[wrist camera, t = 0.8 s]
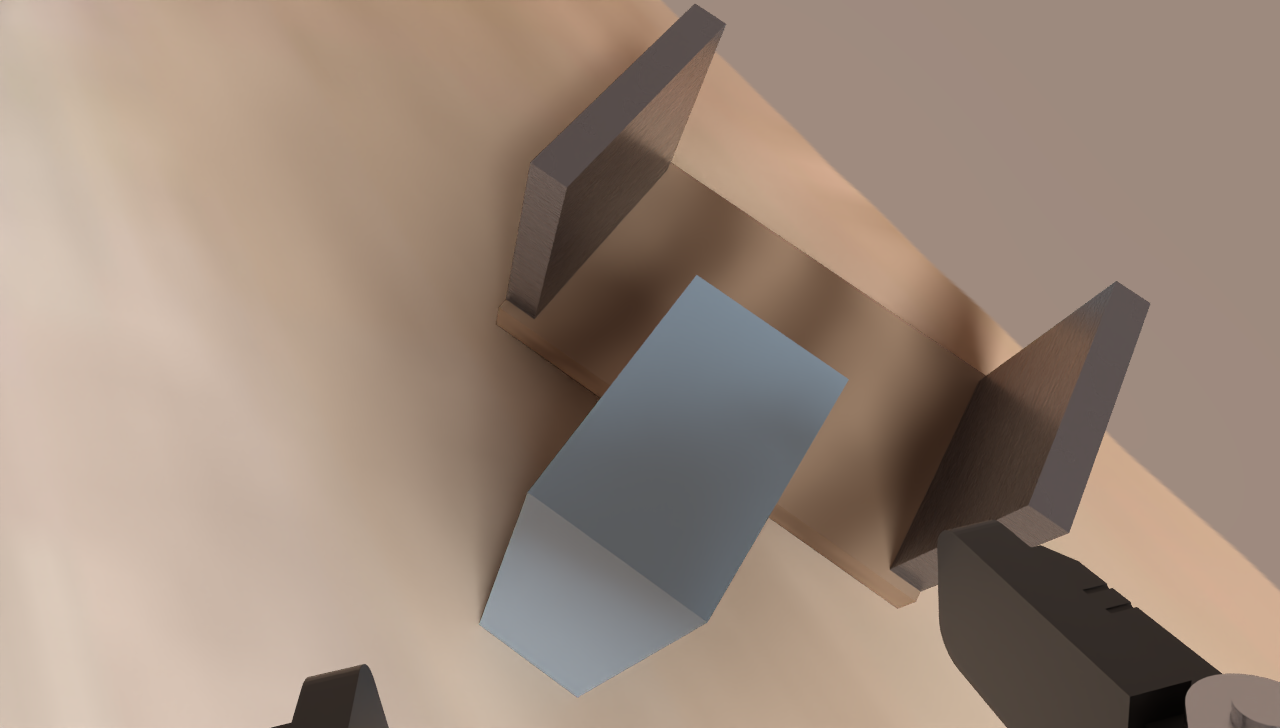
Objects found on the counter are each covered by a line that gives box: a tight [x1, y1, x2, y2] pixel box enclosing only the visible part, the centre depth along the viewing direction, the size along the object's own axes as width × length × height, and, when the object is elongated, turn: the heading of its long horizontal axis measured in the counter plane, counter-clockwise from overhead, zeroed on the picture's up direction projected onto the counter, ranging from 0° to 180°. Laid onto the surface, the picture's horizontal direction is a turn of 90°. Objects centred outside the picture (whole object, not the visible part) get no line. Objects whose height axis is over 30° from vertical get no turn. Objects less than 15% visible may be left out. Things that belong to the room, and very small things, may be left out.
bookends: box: [506, 4, 1150, 592], centre depth 34 cm, size 21×11×9 cm, turn 56°
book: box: [479, 275, 849, 697], centre depth 26 cm, size 4×7×16 cm, turn 146°
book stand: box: [496, 162, 985, 609], centre depth 38 cm, size 21×12×2 cm, turn 56°
